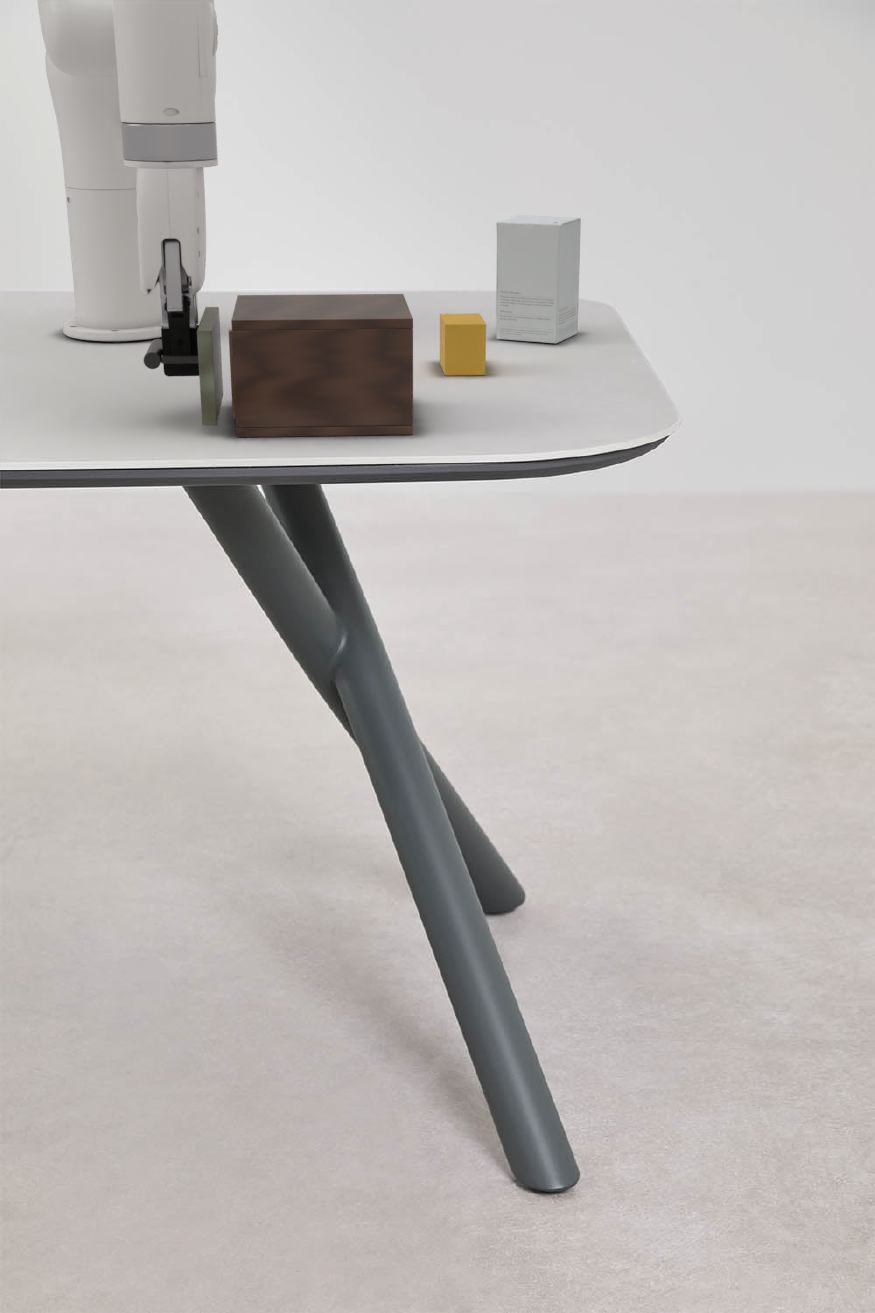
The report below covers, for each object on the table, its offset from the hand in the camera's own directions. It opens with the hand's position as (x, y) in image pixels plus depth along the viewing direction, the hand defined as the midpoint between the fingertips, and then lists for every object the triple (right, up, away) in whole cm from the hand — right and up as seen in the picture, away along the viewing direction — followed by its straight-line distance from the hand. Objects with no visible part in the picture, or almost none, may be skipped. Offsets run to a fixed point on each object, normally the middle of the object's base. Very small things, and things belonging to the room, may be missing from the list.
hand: (183, 373), depth 127 cm
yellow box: (+24, +5, +22) cm, 33 cm away
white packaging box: (+33, +11, +39) cm, 52 cm away
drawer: (+6, -3, +2) cm, 7 cm away
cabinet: (+12, -3, +3) cm, 12 cm away
